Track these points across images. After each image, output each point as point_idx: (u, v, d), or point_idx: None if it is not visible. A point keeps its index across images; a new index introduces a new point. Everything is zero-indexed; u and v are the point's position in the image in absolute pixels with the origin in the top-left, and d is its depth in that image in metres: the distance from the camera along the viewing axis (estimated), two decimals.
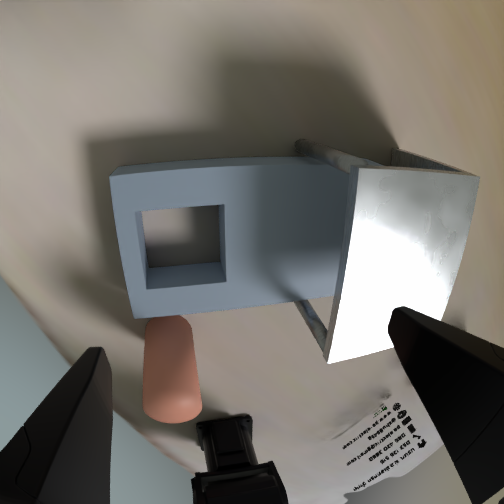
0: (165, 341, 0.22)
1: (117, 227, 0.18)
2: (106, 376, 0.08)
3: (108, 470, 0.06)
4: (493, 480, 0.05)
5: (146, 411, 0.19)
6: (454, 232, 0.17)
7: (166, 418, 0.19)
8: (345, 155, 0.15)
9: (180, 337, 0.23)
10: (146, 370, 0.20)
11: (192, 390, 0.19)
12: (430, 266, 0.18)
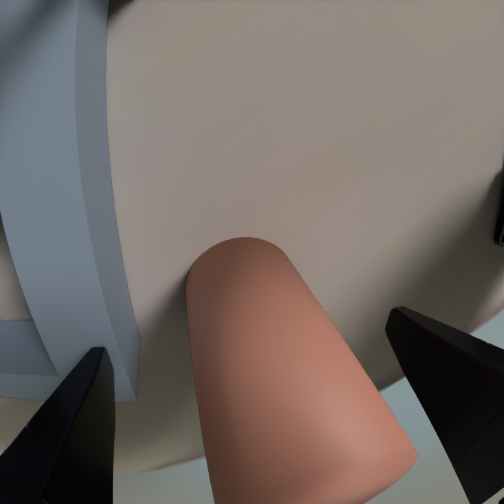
0: (192, 362, 0.08)
1: None
2: (109, 376, 0.08)
3: (111, 470, 0.06)
4: (491, 481, 0.05)
5: None
6: None
7: (372, 493, 0.05)
8: None
9: (199, 314, 0.08)
10: None
11: (258, 480, 0.04)
12: None
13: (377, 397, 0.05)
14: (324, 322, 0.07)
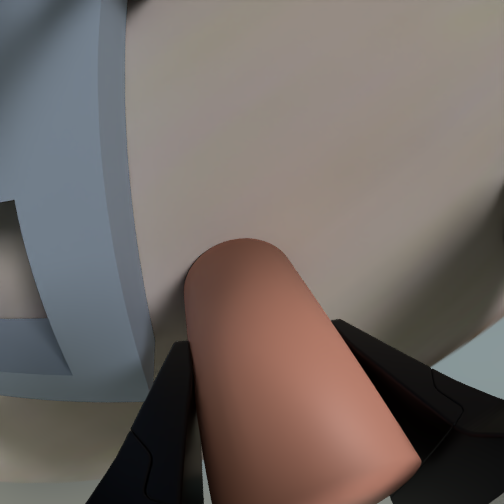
0: None
1: None
2: None
3: (201, 467, 0.07)
4: None
5: None
6: None
7: (375, 499, 0.05)
8: None
9: (196, 319, 0.08)
10: None
11: (256, 492, 0.04)
12: None
13: (380, 404, 0.05)
14: (325, 326, 0.07)
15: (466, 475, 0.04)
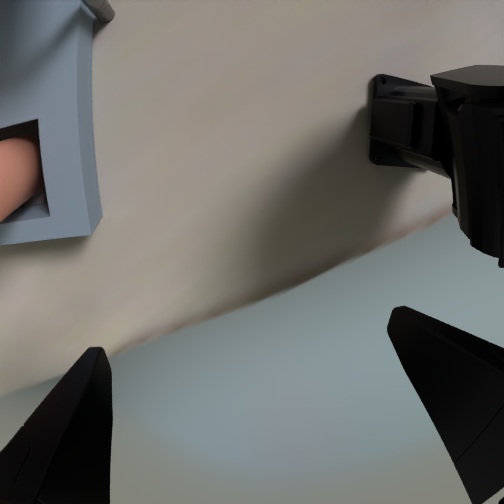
0: None
1: None
2: (106, 376, 0.08)
3: (108, 470, 0.06)
4: (493, 479, 0.05)
5: None
6: None
7: None
8: None
9: None
10: None
11: None
12: None
13: None
14: (2, 147, 0.11)
15: None
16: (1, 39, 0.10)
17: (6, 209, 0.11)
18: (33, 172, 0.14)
